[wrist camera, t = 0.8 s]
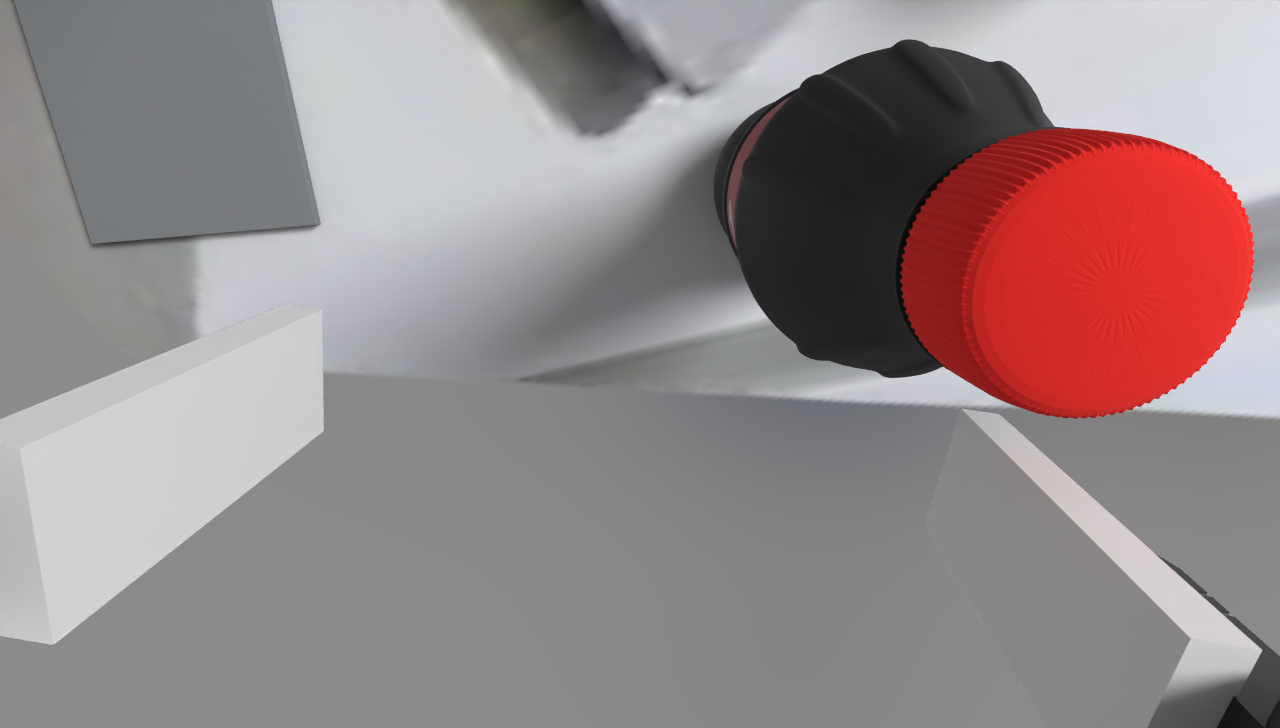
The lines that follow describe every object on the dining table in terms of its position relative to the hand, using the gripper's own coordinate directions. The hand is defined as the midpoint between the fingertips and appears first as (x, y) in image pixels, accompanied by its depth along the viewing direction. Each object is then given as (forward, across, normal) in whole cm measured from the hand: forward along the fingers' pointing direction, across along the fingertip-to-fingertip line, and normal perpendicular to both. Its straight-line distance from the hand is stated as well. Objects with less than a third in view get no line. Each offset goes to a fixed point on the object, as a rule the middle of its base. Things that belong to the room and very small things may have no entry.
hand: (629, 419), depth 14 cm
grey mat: (+26, -29, +3) cm, 39 cm away
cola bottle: (+26, +6, +4) cm, 27 cm away
